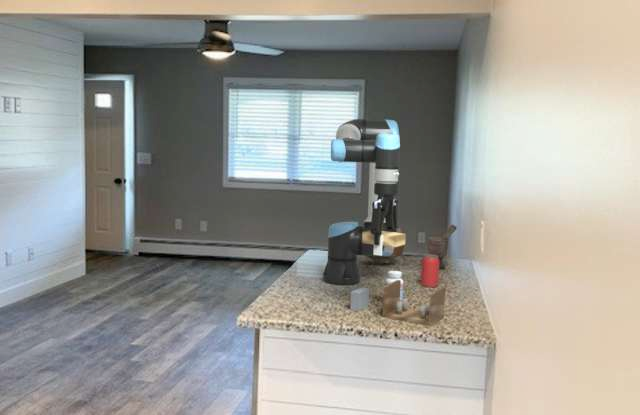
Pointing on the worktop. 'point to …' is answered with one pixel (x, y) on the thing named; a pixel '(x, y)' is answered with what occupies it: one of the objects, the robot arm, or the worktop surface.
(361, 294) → the riser block
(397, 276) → the pill bottle
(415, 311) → the peg frame
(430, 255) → the beer can
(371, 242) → the shelf board
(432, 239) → the mortar and pestle
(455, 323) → the worktop surface
